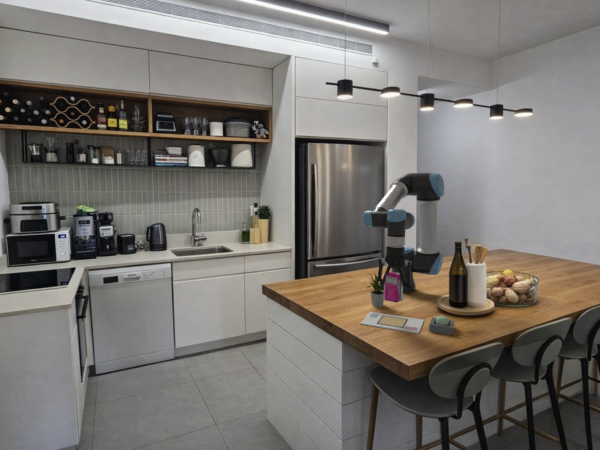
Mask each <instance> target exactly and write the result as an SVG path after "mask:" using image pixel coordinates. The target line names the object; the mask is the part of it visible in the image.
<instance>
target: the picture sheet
mask: <svg viewBox="0 0 600 450" xmlns="http://www.w3.org/2000/svg"><path fill="white" fill-rule="evenodd" d="M424 322H425V319H421V318H414V317H408V316H400V315H394V314H386V313H383V312H382V313H381V312H380V313H379V312H375V311H374V312H373V311H369V312H368V313H367V315H366V316H365V317H364V318H363V319H362V320H361V322H360V323H359V325H361V324H362V326H367V325H368V326H370V327H373V326H374V328H380V329H387V330H393V331H398V332H404V333H410V334H411V333H412V334H416V335H419V334H420V332H421V329H422V327H423V325H424ZM368 326H367V327H368Z"/></svg>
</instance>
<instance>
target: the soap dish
mask: <svg viewBox="0 0 600 450" xmlns="http://www.w3.org/2000/svg"><path fill="white" fill-rule="evenodd" d="M455 321H456V320H453V319H449V326H445V325H439V324H436V317H431V319H430V322H429V326H428V327H429V329H428V330H429V331H428V332H429V333H437V334H441V335H442V334H444V335H450V336H453V335H454V332H455V331H454V330H455Z"/></svg>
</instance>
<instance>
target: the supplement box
mask: <svg viewBox="0 0 600 450" xmlns="http://www.w3.org/2000/svg"><path fill="white" fill-rule="evenodd" d="M402 285H403V283H402V280H401V277H400V274H399V273H396V272H392V271H389V273H388V274H386V279H385V299H384V301H389V302H391V303H399V302H402V301H401V286H402Z"/></svg>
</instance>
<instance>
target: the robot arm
mask: <svg viewBox="0 0 600 450" xmlns="http://www.w3.org/2000/svg"><path fill="white" fill-rule="evenodd" d="M388 189H389V190H388V191H387V192H386V194H384V196H383V197H382V198H381V200H380V201H379V202H378V203H377V205H376V206H375V207H374V208H373V210H370V209H369V210H365V211H364V213H363V216H362V221H363V225H364V226H365V227H368V228H376V229H378V228H379V229H386V247H385V248H386V249H385V257H381V258H379V259H377V260H378V272H377V277H378V278H377V281H378V282H379V283H380V282H381V284H382V285H381V290H382V291H383V292H384V295H383V299H384V300H385V279H386V274H388V273H390V272H396V273H399V274H400V277H401V280H402V283H403V285H402V286H401V301H400V302H403V301H404V297H405V296H404V295H405V294H407V293H413V292H416V289H417V287H416V282H415V279H414V273H415V274H416V273H417V274H424V275H429V276H431V275H432V276H437V275H439V274H440V272H441V269H442V267H443V262H444V255H443V253H440V250H441V249H440V248H439V247H437V244H438V243H437V241H438V239H437V238H438V237H437V236H438V235H437V233H438V226H437V225H438V202H440V201H441V197H443V196H444V194H445V182H444V178H443V176H442V174H440V173H435V172H434V173H433V172H417V173H416V172H410V173H406V174H403V175H401V176H400V177H398V178H396V179H395V180H393V181H392V183H391V184H390V185H389V188H388ZM407 196H412V197H413V196H414V197H416V201H417V202H419V246H417V248H416V250H415V248H414V247H405V245H406V230H409V229H411V228H412V227H413V226H414V225H415V223H416V219H415V216H414V215H413V213H411V212H410V211H406V210H405V209H403V208H401V209H400V208H396V207H397V206H398V204H399V203H400V202H401V200H402V199H404V198H406V197H407ZM384 263H386V264H387V267H386V270H385V272H384V275H383V270H384V269H383V268H384Z"/></svg>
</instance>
